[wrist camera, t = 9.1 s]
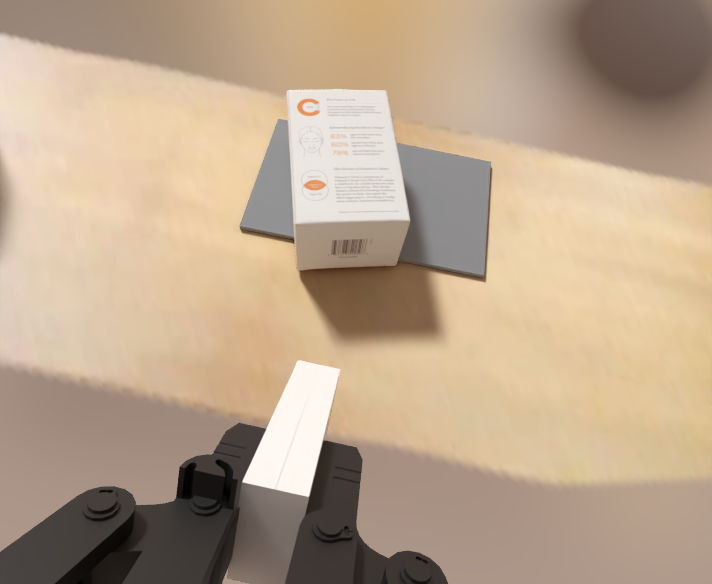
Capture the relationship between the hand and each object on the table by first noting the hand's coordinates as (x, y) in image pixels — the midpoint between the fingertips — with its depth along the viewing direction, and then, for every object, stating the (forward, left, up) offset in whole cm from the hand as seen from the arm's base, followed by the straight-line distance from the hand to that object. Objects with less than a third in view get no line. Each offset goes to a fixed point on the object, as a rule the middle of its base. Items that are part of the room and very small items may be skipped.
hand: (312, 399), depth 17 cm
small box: (0, -15, -13) cm, 19 cm away
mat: (-1, -23, -16) cm, 28 cm away
